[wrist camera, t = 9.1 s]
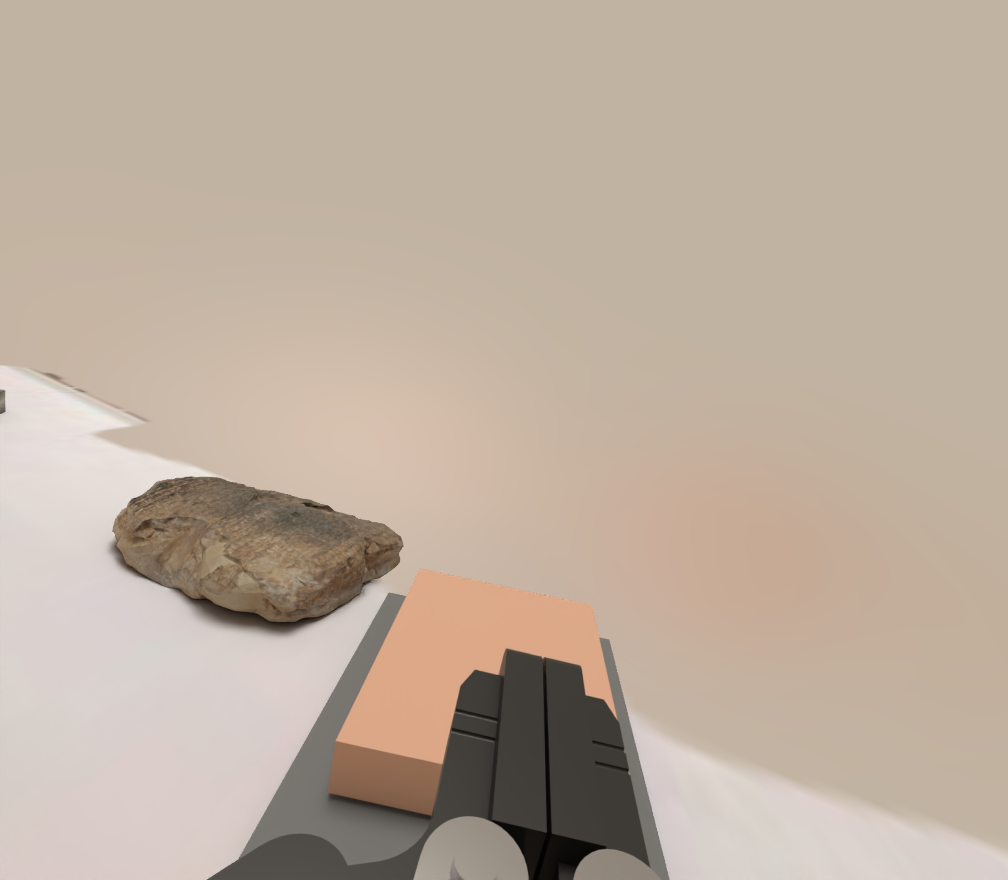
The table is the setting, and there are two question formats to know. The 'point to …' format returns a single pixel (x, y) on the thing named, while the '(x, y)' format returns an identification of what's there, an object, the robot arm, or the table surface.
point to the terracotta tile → (447, 679)
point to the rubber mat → (379, 827)
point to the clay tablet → (252, 547)
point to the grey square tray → (2, 401)
